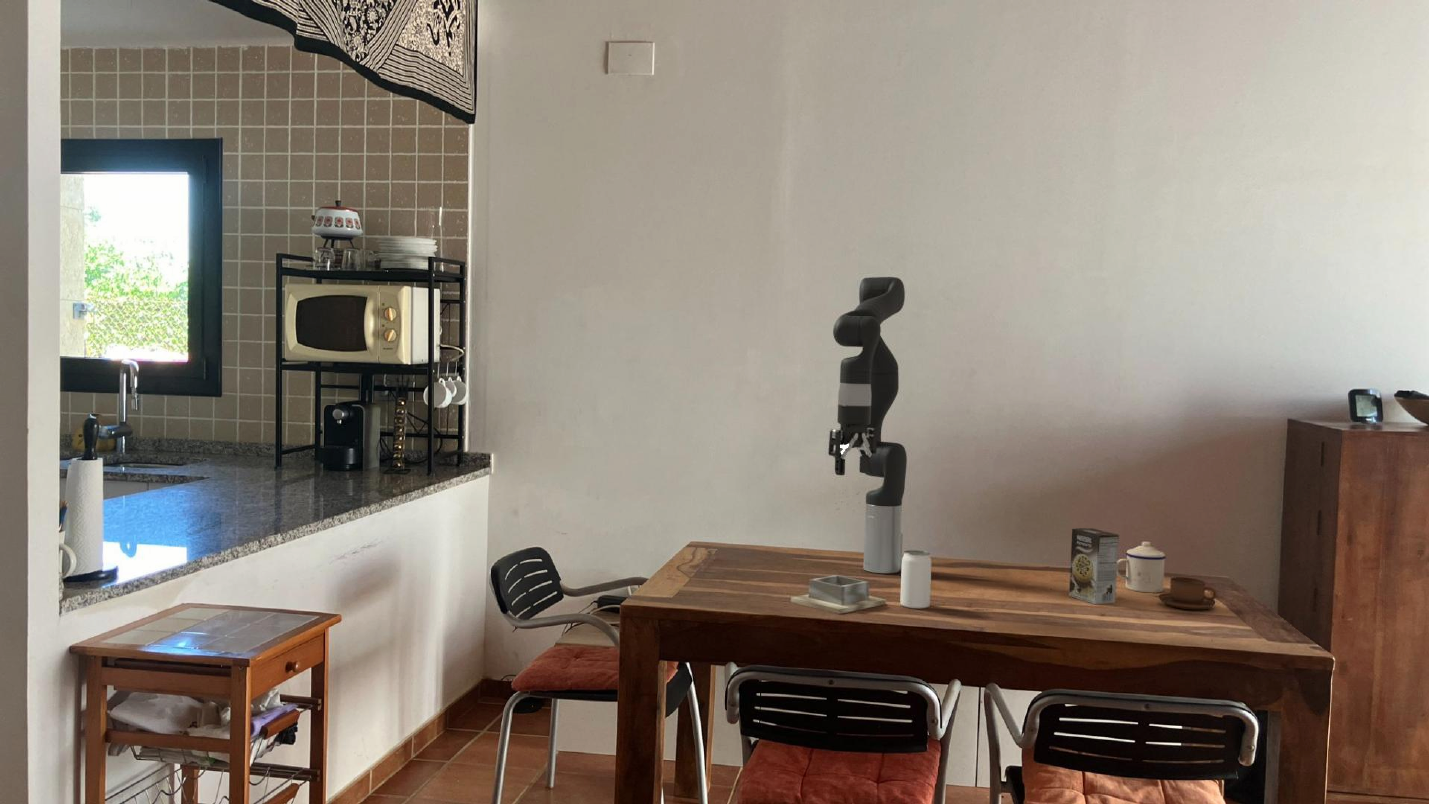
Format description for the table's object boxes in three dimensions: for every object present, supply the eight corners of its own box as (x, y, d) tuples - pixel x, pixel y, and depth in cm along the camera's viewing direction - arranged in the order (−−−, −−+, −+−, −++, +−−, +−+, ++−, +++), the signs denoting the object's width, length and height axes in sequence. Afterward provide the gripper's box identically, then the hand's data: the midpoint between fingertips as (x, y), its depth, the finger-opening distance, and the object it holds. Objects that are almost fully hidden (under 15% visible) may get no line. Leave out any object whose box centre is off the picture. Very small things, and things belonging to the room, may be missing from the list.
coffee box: (1067, 596, 264) (1070, 528, 263) (1088, 594, 266) (1092, 527, 265) (1094, 604, 255) (1098, 534, 254) (1116, 603, 258) (1120, 533, 257)
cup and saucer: (1209, 603, 261) (1210, 577, 261) (1220, 615, 249) (1221, 587, 249) (1154, 599, 264) (1155, 573, 263) (1163, 610, 252) (1164, 583, 252)
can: (929, 610, 245) (931, 555, 244) (899, 608, 246) (901, 554, 245) (929, 603, 251) (931, 550, 251) (900, 601, 252) (902, 549, 252)
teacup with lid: (1155, 586, 279) (1158, 539, 278) (1169, 593, 270) (1172, 546, 269) (1107, 584, 279) (1109, 538, 278) (1120, 592, 270) (1122, 544, 269)
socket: (837, 592, 260) (838, 571, 259) (885, 604, 249) (886, 581, 249) (790, 602, 249) (791, 579, 248) (839, 614, 238) (839, 590, 238)
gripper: (861, 402, 263) (859, 470, 264) (821, 402, 253) (819, 474, 254) (887, 404, 258) (884, 474, 258) (846, 404, 248) (844, 477, 249)
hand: (852, 473), depth 256 cm, fingers open, 8 cm apart
